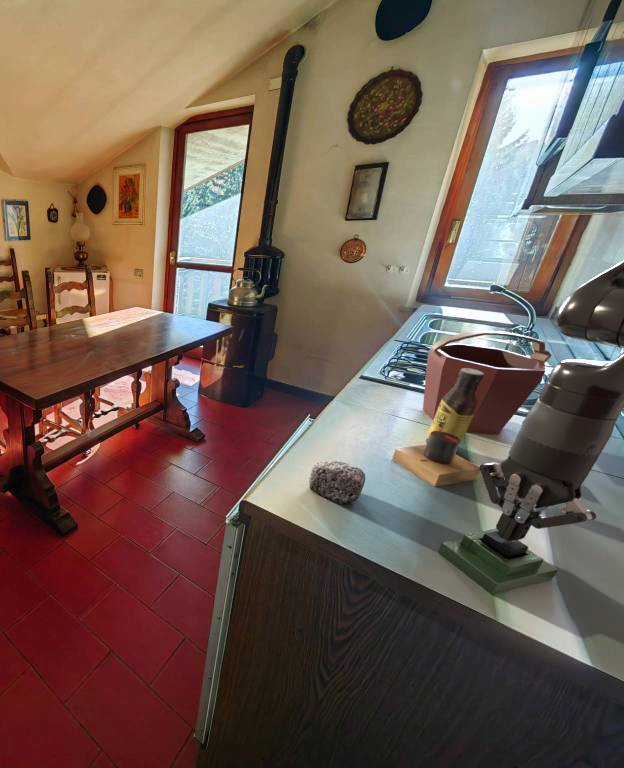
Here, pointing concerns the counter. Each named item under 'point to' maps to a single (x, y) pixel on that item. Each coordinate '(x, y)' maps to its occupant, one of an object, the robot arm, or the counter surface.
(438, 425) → the sauce bottle
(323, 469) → the pumice stone
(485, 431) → the bucket
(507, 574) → the block
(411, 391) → the counter surface
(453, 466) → the flat wooden block
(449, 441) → the dark grey short cylinder
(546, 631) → the counter surface
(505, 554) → the plate
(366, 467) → the counter surface
